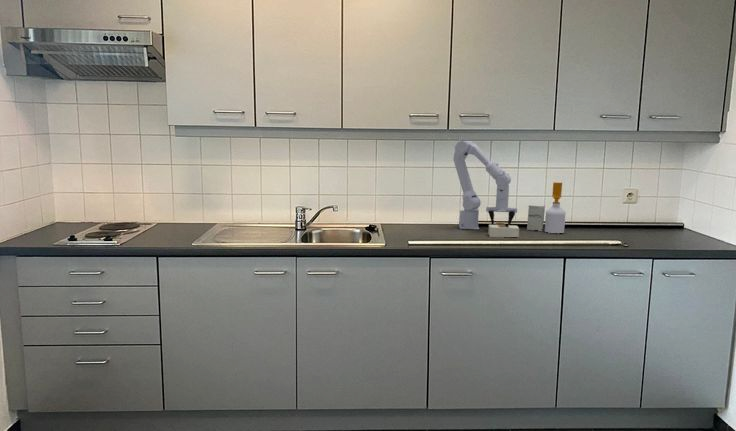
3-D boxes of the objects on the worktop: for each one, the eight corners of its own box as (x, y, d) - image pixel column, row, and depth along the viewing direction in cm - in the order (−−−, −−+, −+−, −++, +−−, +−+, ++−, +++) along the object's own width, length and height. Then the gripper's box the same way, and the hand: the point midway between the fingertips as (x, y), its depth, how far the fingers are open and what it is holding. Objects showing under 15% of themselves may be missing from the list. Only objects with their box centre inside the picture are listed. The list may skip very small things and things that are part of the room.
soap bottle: (544, 233, 265) (547, 182, 261) (544, 230, 273) (548, 180, 270) (564, 234, 262) (568, 183, 258) (563, 231, 271) (567, 181, 267)
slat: (498, 234, 262) (498, 226, 261) (495, 229, 273) (496, 222, 273) (505, 234, 261) (506, 226, 261) (502, 230, 273) (503, 222, 272)
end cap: (489, 236, 254) (490, 227, 253) (488, 233, 261) (488, 224, 261) (518, 238, 253) (519, 228, 252) (516, 235, 260) (516, 225, 259)
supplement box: (526, 230, 273) (528, 205, 271) (528, 227, 279) (530, 203, 277) (542, 231, 270) (543, 206, 268) (543, 229, 277) (545, 204, 275)
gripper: (487, 199, 262) (486, 227, 264) (518, 200, 261) (517, 228, 263) (486, 197, 269) (485, 224, 271) (516, 198, 267) (515, 226, 270)
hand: (500, 226), depth 267 cm, fingers open, 7 cm apart
